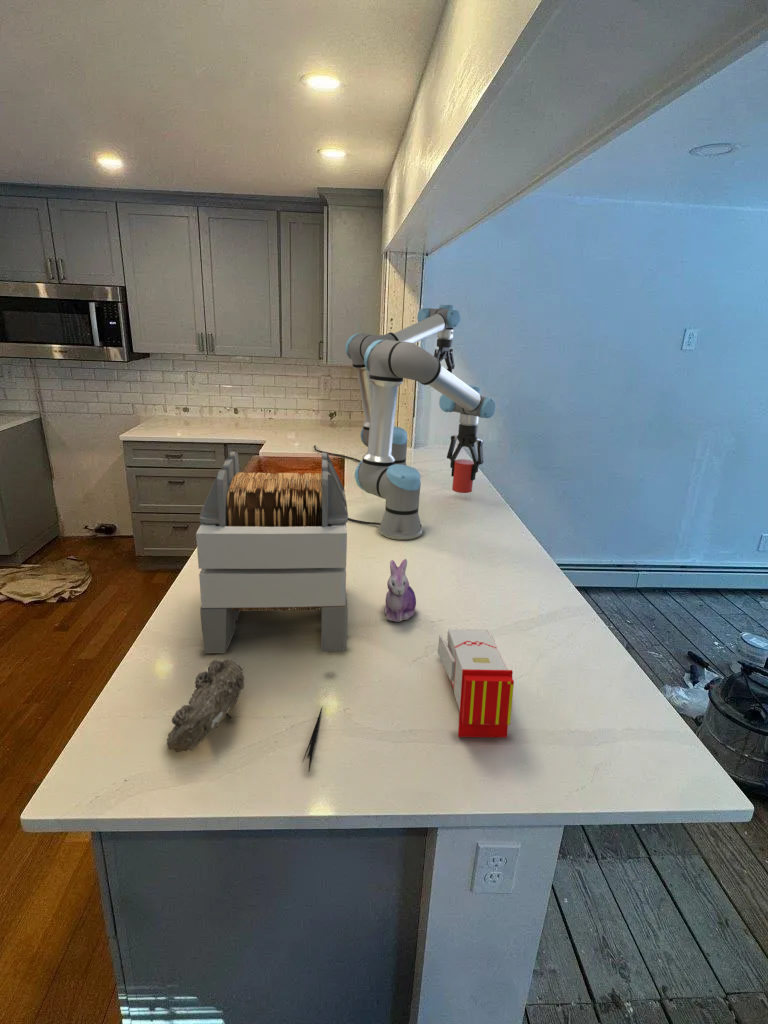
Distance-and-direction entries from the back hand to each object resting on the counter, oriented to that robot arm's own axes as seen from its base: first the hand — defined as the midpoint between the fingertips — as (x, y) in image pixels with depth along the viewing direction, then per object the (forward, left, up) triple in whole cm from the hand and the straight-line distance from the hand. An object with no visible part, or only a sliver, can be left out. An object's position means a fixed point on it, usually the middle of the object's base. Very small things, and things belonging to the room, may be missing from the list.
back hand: (441, 383), depth 281 cm
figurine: (+73, -141, -41) cm, 164 cm away
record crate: (+50, -161, -41) cm, 174 cm away
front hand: (+39, -44, -31) cm, 66 cm away
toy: (+102, -158, -41) cm, 192 cm away
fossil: (+67, -196, -41) cm, 211 cm away
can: (+39, -44, -37) cm, 69 cm away
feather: (+84, -184, -41) cm, 206 cm away
